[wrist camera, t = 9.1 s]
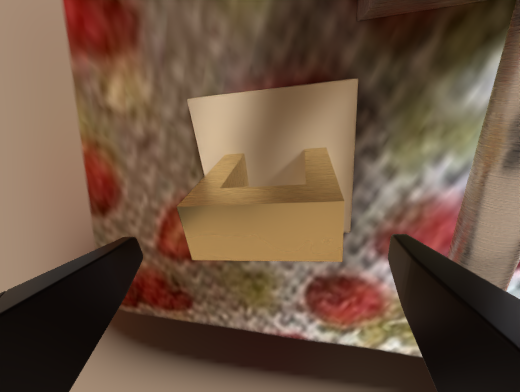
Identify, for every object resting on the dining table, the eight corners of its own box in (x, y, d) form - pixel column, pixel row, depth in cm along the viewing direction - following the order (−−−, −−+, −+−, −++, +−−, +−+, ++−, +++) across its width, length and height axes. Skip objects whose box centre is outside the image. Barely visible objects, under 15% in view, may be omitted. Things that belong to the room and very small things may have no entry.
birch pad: (354, 78, 13) (358, 78, 12) (347, 223, 17) (350, 232, 16) (194, 97, 15) (187, 99, 14) (221, 225, 18) (217, 233, 18)
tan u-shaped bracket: (326, 147, 14) (344, 201, 8) (326, 188, 15) (342, 261, 9) (225, 154, 15) (176, 206, 9) (231, 192, 16) (192, 260, 10)
